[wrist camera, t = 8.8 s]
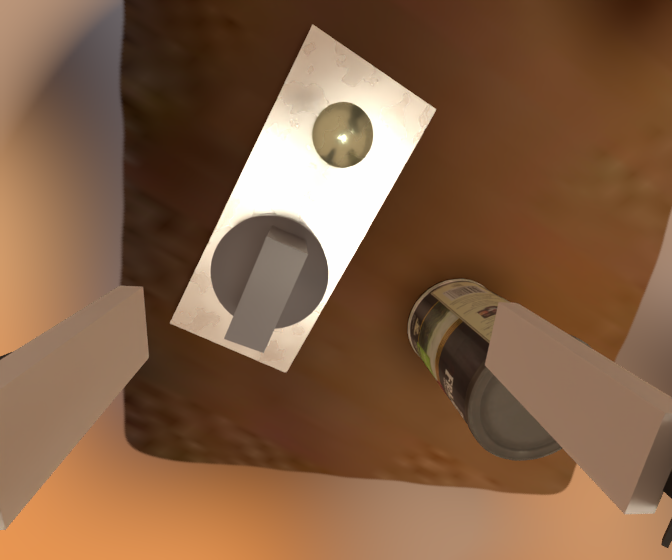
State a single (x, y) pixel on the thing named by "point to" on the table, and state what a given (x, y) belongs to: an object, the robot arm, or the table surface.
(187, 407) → the table surface
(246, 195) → the base plate
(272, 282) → the wing knob
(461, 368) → the coffee can
